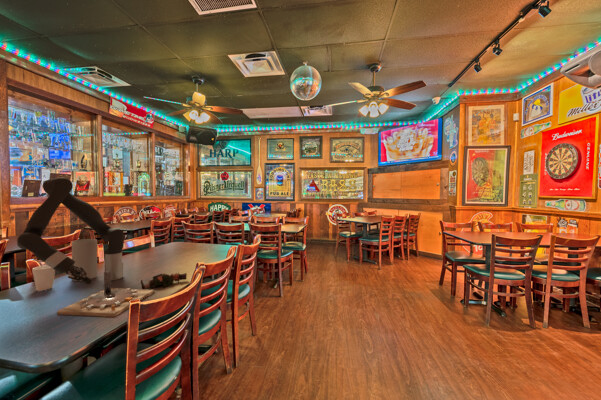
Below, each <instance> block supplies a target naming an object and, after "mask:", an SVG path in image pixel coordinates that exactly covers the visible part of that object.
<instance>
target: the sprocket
mask: <svg viewBox="0 0 601 400" xmlns="http://www.w3.org/2000/svg"><path fill="white" fill-rule="evenodd" d="M111 288H112V281H111V271H106V272H105V271H104V272H103V290H104V291H103V290H101V291H102V293H100V294H97V295H95V294H96V293H93V294H90V295H89V296H88V297H89V299H85V298H83V299H81V300H82V301H81V303H82V304H80V307H85V306H87V307H86V309H88V310H90V309H92V308H94V307H100V309H104V308H105V307H106V306H111V305H114V304H115V306H118V305H120V303H122V302H124V301H130V300H132V298H131V297H136V296H138V293H137V290H132V291H131V289H132V287H127V288H124V289H125V290H120V289H121V287H117V289H115V290H113V291H111Z"/></svg>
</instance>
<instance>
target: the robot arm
mask: <svg viewBox="0 0 601 400" xmlns="http://www.w3.org/2000/svg"><path fill="white" fill-rule="evenodd" d="M42 189H43V191H44V192H45V193H46V194H47V195H48V197H47V198H46V199H45V200H44V201H43V202H42V204H40V205H39V206H38V207H37V208H36V209H35V210H34V212H32V214H31V216H30V218H29V219H28V221H27V224H26V225H25V226H26V227H25V229H24V231H23V232H22V234H20V235H18V237H17V239H16V241H17V242H16V244H17V247H19V248H20V249H22V250H27V251H29V252H30V253H32V254H33V255H34V256H35V257H36V258H37V259H38V260H40V261H42V263H45V265H48V266H49V267H51V268H53V269H54V270H55V272H57V273H59V274H64V273H65V274H67V275H68V276H67V279H70V280H72V279H73V280H77V281H76V282H84V283H85V284H87V285H90V284H91V283H92V282H93V279H90V278H88V277H86V276H87V273H86V272H85V271H84V270H83V268H82V267H80V268H79V267H76V266H74V265H73V264H74V263H75V261H74V260H72V257H70V256H68V255H67V254H65V253H63V252H61V251H59V250H58V249H56V247H54V246H52V245H51V244H49V243H48V242H47V241H46V240H45V239H44V238H43V237H42V235H43V234H44V231H45V230H46V229H47V227H48V225H49V224H50V221H51V219H52V218H53V216H54V215H55V212H56V211H57V209H58V208H59V207H60V205H63V206H64V207H65V208H66V209H68V210H69V211H70V212H71V213H73V215H75V216H76V217H77V218H78V219H80V220H81V221H82V222H83V223H84V224H86V225H87V226H88V227H89V228H91V229H92V230H93V231H94V232H96V234H98V236H99V237H100V238H101V239H102V240H103V241H104V242H106V243H108V246H107V248H105V249H104V272H106V271H111V282H112V281H117V280H120V279H122V278H123V277H124V262H123V248H124V245H125V244H124V243H125V233H124V231H123V230H122V229H120V228H113V227H111V226H109V224H107V223H106V222H105V221H104V220H103V217H102V215H101V213H100V212H99V210H98V209H96V208H95V207H94V206H93V205H92V204H90V203H89V202H86V201H84V200H83V199H80V198H78V197H76V196H75V195H73V194H71V191H72V190H73V182H72V180H71V179H69V178H67V177H55V178H51V179H46V180H45V181H43V183H42ZM78 274H79V275H78ZM73 280H72V281H73Z"/></svg>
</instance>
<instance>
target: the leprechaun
mask: <svg viewBox="0 0 601 400" xmlns="http://www.w3.org/2000/svg"><path fill="white" fill-rule="evenodd" d="M187 275H188V274H187V272H185V273H180V272H176V273H171V274H168V273H167V274H166V273H160V274H157V275H155V276H153V277H152V279H150V280H148V283H146V284H144V282H143V279H141V280H140V284H141V289H149V288H152V287H159V286H163V287H164V288H168V287H170V286H171V285H172V284H173V283H174V282H177V283H179V282H180V281H181V280H183V281H184V280H187Z"/></svg>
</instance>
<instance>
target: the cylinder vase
mask: <svg viewBox="0 0 601 400" xmlns="http://www.w3.org/2000/svg"><path fill="white" fill-rule="evenodd" d="M71 259H72V260H74V261H75V263H74V264H73V265H74V266H76V267H79V268H80V267H82V268H83V270H84V271H85V272H86V273H87V276H86V277H88V278H90V279H91V280H93V279H95V278H97V276H98V239H96V238H87V239H85V238H84V239H77V240H76V239H75V240H73V241H71ZM78 275H79V274H78ZM71 280H72V281H73V282H78V281H77V280H73V279H71Z"/></svg>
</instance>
